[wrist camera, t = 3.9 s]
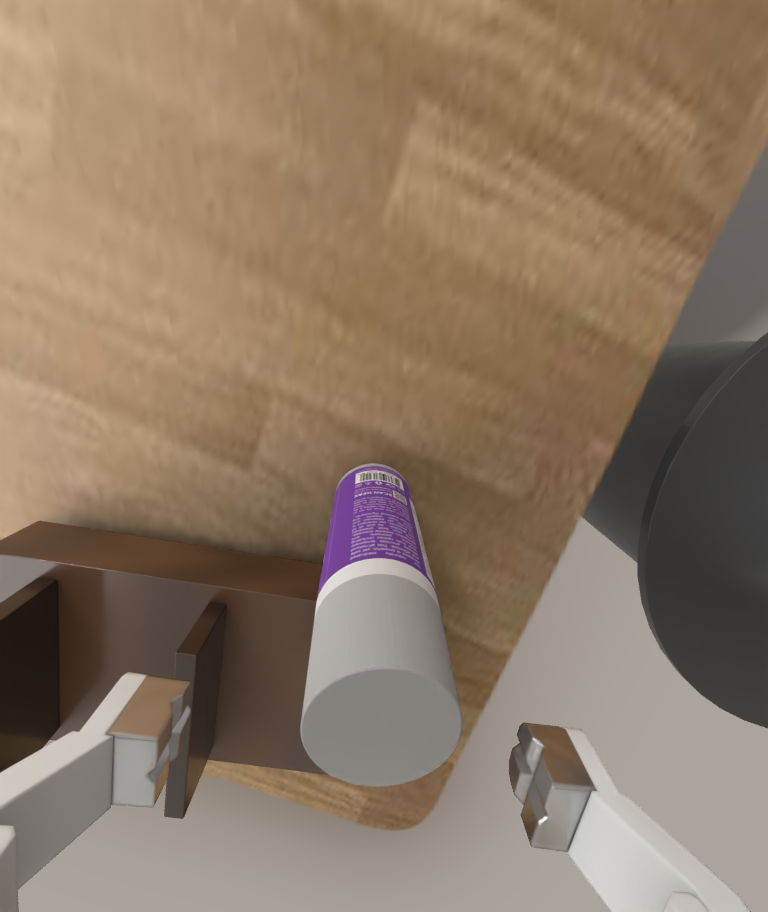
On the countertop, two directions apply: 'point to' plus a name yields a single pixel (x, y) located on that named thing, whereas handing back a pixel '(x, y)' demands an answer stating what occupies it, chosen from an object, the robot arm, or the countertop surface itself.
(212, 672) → the brown two-slot stand
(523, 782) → the robot arm
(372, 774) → the container
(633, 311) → the countertop surface
